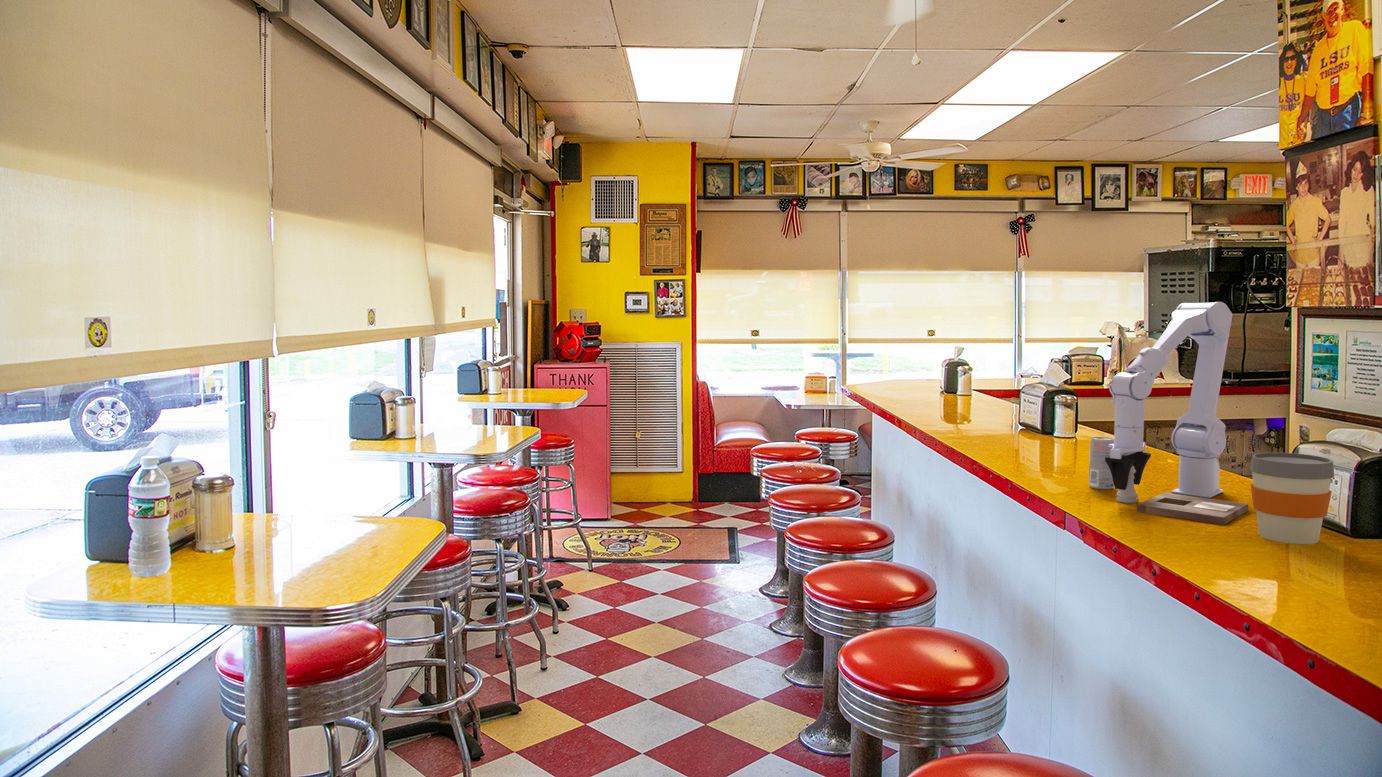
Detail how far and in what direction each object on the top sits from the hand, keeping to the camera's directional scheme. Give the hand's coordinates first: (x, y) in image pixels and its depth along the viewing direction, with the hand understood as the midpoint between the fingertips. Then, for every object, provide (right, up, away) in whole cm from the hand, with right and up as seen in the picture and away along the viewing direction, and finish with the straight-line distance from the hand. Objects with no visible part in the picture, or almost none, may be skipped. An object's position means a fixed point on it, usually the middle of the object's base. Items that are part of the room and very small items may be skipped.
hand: (1127, 486), depth 180 cm
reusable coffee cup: (+14, -6, -30) cm, 34 cm away
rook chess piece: (0, -4, 0) cm, 4 cm away
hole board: (+9, -4, -9) cm, 13 cm away
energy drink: (+2, -2, +15) cm, 15 cm away
